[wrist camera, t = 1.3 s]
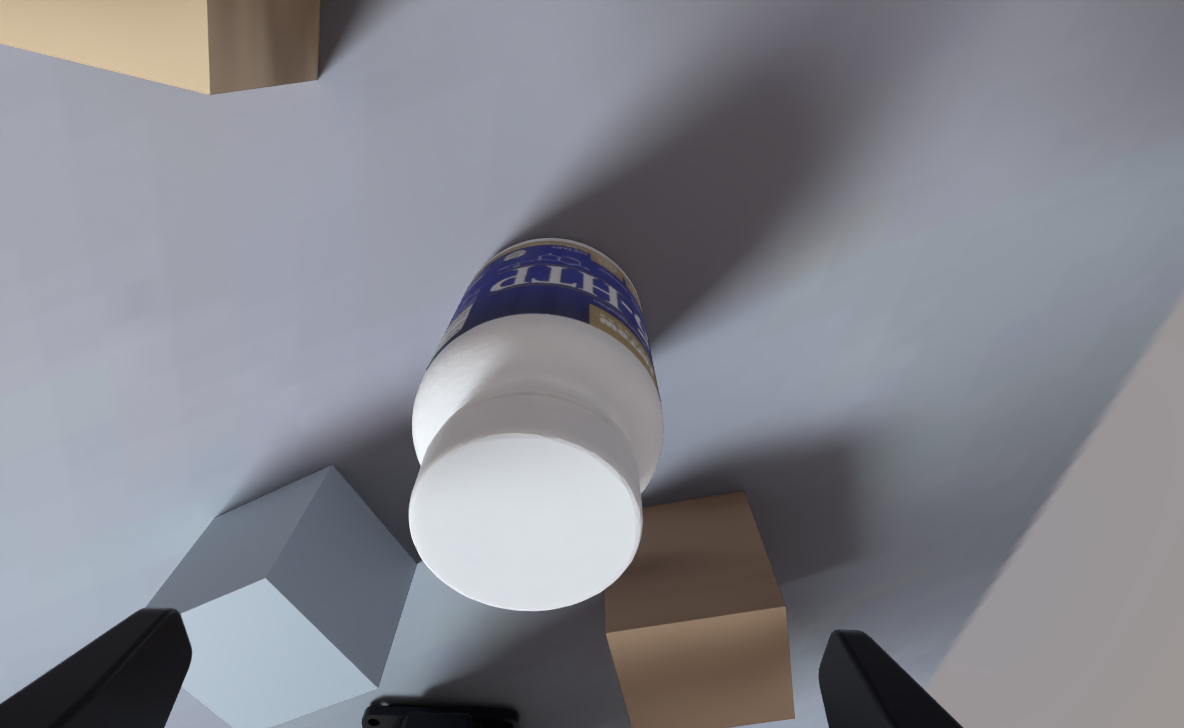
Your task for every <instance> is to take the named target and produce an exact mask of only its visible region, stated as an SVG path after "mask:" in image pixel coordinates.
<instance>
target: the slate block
mask: <svg viewBox="0 0 1184 728" xmlns="http://www.w3.org/2000/svg"><path fill="white" fill-rule="evenodd" d="M416 566H417V563H416V562H415V561H414V560H413V559H412V558H411V556H410V555H409V554H408V553H407V552H406V550H405V549H404V548H403V547H402V546H401V545H400V543H399V542H398V541H397V540H396V539H395V538H394V536H393V535H392V534H391V533H390V532H389V530H388V529H387V528H386V527H385V526H384V525H383V523H382V522H381V521H380V520H379V519H378V518H377V516H376V515H375V514H374V513H373V512H372V511H371V509H370V508H369V507H368V506H367V505H366V503H365V502H364V501H363V500H362V499H361V498H360V496H359V495H358V494H357V493H356V492H355V491H354V489H353V488H352V487H351V486H350V485H349V483H348V482H347V481H346V480H345V479H344V478H343V476H342V475H341V474H340V473H339V472H338V471H337V469H336V468H335V467H334V466H333V465H330V466H328V467H326V468H324V469H321V470H319V471H317V472H315V473H312V474H310V475H308V476H306V477H304V478H301V479H299V480H297V481H295V482H293V483H290V484H288V485H286V486H284V487H282V488H279V489H277V490H275V491H273V492H270V493H268V494H266V495H264V496H262V497H259V498H257V499H255V500H253V501H251V502H248V503H246V504H244V505H242V506H239V507H237V508H235V509H233V510H231V511H228V512H226V513H224V514H222V515H220V516H217V517H215V518H214V519H213V521H212V522H211V523H210V524H209V526H208V527H207V528H206V530H205V531H204V532H203V534H202V535H201V536H200V537H199V539H198V540H197V541H196V543H195V544H194V545H193V547H192V548H191V549H190V550H189V552H188V553H187V554H186V556H185V557H184V558H183V560H182V561H181V562H180V563H179V565H178V566H177V567H176V569H175V570H174V571H173V573H172V574H171V575H170V576H169V578H168V579H167V580H166V582H165V583H164V584H163V586H162V587H161V588H160V589H159V591H158V592H157V593H156V595H155V596H154V597H153V598H152V600H151V601H150V602H149V604H148V605H147V606H146V608H147V607H162V608H175V609H176V610H177V611H179V612H180V614H181V617H182V620H183V623H184V626H185V628H186V631H187V634H188V637H189V640H190V643H191V646H192V660H191V664H190V667H189V670H188V672H187V674H186V677H185V679H184V681H183V684H182V687H183V688H184V689H185V690H187V691H188V692H189V693H190V694H192V695H193V696H194V697H195V698H197V699H198V700H199V701H200V702H202V703H203V704H204V705H205V706H207V707H208V708H209V709H210V710H212V711H213V712H214V713H215V714H217V715H218V716H219V717H220V718H221V719H223V720H224V721H225V722H226V723H228V724H229V725H230V726H231V727H233V728H270V727H272V726H275V725H278V724H281V723H283V722H286V721H289V720H292V719H295V718H297V717H300V716H303V715H306V714H308V713H311V712H314V711H317V710H319V709H322V708H325V707H328V706H331V705H333V704H336V703H339V702H342V701H344V700H347V699H350V698H353V697H355V696H358V695H361V694H364V693H367V692H369V691H372V690H375V689H378V687H379V684H380V680H381V677H382V674H383V671H384V668H385V665H386V661H387V658H388V655H389V652H390V649H391V646H392V642H393V639H394V636H395V633H396V630H397V626H398V623H399V620H400V617H401V614H402V611H403V607H404V604H405V601H406V598H407V595H408V592H409V588H410V585H411V582H412V579H413V576H414V573H415V569H416Z"/></svg>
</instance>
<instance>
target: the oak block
mask: <svg viewBox="0 0 1184 728" xmlns="http://www.w3.org/2000/svg"><path fill="white" fill-rule="evenodd" d="M320 2H321V0H0V44H4V45H8V46H12V47H17V48H21V49H25V50H29V51H33V52H37V53H41V54H45V55H49V56H53V57H57V58H61V59H66V60H70V61H74V62H78V63H82V64H86V65H90V66H94V67H98V68H102V69H106V70H110V71H115V72H119V73H123V74H127V75H131V76H135V77H139V78H143V79H147V80H151V81H155V82H159V83H164V84H168V85H172V86H176V87H180V88H184V89H188V90H192V91H196V92H200V93H204V94H208V95H213V94H220V93H227V92H234V91H242V90H249V89H256V88H263V87H270V86H277V85H284V84H292V83H299V82H306V81H313V80H318V55H319V28H320Z"/></svg>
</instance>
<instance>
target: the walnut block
mask: <svg viewBox="0 0 1184 728" xmlns="http://www.w3.org/2000/svg"><path fill="white" fill-rule="evenodd" d="M642 514H643V527H642V536H641V539H640V543H639V546H638V549H637V551H636V553H635V556H634V558H633V560H632V562H631V563H630V565H629V566H628V567H627V568H626V570H625V571H624V572H623V573H622V575H621V576H620V577H619V578H618V579H617V580H616V581H615V582H613V583H612V584H611V585H610V586H608V587H607V588H606V589H604V608H605V633H606V637H607V640H608V644H609V648H610V651H611V655H612V658H613V662H614V666H615V669H616V673H617V676H618V680H619V684H620V687H621V691H622V694H623V698H624V701H625V705H626V709H627V712H628V716H629V719H630V723H631V727H632V728H728V727H735V726H742V725H750V724H757V723H765V722H772V721H779V720H787V719H794V718H795V714H794V702H793V690H792V677H791V665H790V653H789V640H788V628H787V616H786V606H785V603H784V600H783V597H782V594H781V592H780V589H779V586H778V583H777V581H776V578H775V575H774V572H773V569H772V567H771V564H770V561H769V558H768V556H767V553H766V550H765V547H764V544H763V542H762V539H761V536H760V533H759V530H758V528H757V525H756V522H755V519H754V517H753V514H752V511H751V508H750V505H749V503H748V500H747V497H746V494H745V491H739V492H733V493H727V494H721V495H715V496H709V497H703V498H697V499H691V500H685V501H678V502H672V503H666V504H660V505H654V506H648V507H642Z"/></svg>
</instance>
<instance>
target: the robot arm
mask: <svg viewBox="0 0 1184 728" xmlns="http://www.w3.org/2000/svg"><path fill="white" fill-rule="evenodd" d="M191 660H192V646H191V643H190V640H189V637H188V634H187V631H186V628H185V626H184V623H183V620H182V617H181V614H180V612H179V611H177V610H176V609H175V608H162V607H147V608H143V609H141V610H139V611H137V612H135V613H134V614H132V615H131V616H129V617H128V618H126V619H125V620H123V621H122V622H120V623H119V624H117V625H116V626H114V627H113V628H111V629H110V630H109V631H107V632H106V633H104V634H103V635H101V636H100V637H98V638H97V639H95V640H94V641H92V642H91V643H89V644H88V645H86V646H85V647H83V648H82V649H80V650H79V651H78V652H76V653H75V654H73V655H72V656H70V657H69V658H67V659H66V660H64V661H63V662H61V663H60V664H58V665H57V666H55V667H54V668H52V669H51V670H50V671H48V672H47V673H45V674H44V675H42V676H41V677H39V678H38V679H36V680H35V681H33V682H32V683H30V684H29V685H27V686H26V687H24V688H23V689H21V690H20V691H19V692H17V693H16V694H14V695H13V696H11V697H10V698H8V699H7V700H5V701H4V702H2V703H1V704H0V728H164V727H165V724H166V722H167V720H168V717H169V715H170V712H171V710H172V708H173V705H174V703H175V701H176V698H177V696H178V693H179V691H180V689H181V686H182V684H183V681H184V679H185V677H186V674H187V672H188V670H189V667H190V664H191ZM819 684H820V689H821V694H822V698H823V703H824V707H825V712H826V716H827V721H828V725H829V728H963V727H962V726H961V725H960V724H959V723H958V722H957V721H956V720H955V719H954V718H953V717H952V716H951V715H950V714H948V712H947V711H946V710H945V709H943V708H942V707H941V706H940V705H939V704H938V703H937V702H936V701H935V700H934V699H933V698H932V697H931V696H930V695H929V694H928V693H927V692H926V691H925V690H924V689H923V688H922V687H921V686H920V685H919V684H918V683H917V682H916V681H915V680H914V679H913V678H912V677H911V676H910V675H909V674H908V673H907V672H906V671H905V670H904V669H902V668H901V667H900V666H899V665H898V664H897V663H896V662H895V661H894V660H893V659H892V658H891V657H890V656H889V655H888V654H887V653H886V652H885V651H884V650H883V649H882V648H881V647H880V646H879V645H878V644H877V643H876V642H875V641H874V640H873V639H872V638H871V637H870V636H868V635H867V634H866V633H864V632H862V631H859V630H835V631H834V632H832V633H831V635H830V638H829V641H828V644H827V646H826V649H825V652H824V655H823V658H822V661H821V664H820V667H819ZM362 727H363V728H520V716H519V714H518V713H517V712H516V711H513V710H509V709H477V708H442V707H406V706H370V707H368V708H367V709H366V710H365V712H364V715H363V718H362Z"/></svg>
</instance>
